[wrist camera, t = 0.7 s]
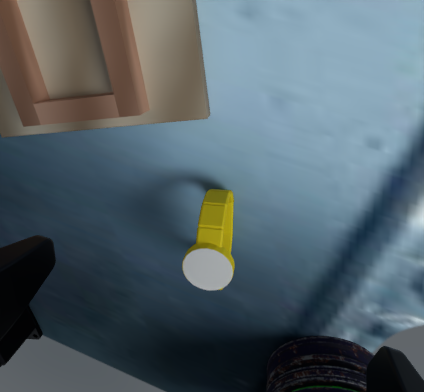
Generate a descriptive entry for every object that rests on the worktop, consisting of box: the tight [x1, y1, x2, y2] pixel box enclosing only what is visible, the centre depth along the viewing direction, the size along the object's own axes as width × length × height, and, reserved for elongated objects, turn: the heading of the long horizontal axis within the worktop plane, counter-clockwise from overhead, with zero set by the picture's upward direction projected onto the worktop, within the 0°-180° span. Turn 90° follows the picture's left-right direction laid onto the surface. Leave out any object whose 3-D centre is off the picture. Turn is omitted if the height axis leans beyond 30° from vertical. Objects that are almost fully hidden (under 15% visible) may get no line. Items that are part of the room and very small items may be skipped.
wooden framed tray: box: [0, 0, 210, 137], centre depth 16 cm, size 14×12×2 cm
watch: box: [182, 189, 235, 290], centre depth 19 cm, size 6×3×6 cm, turn 0°
